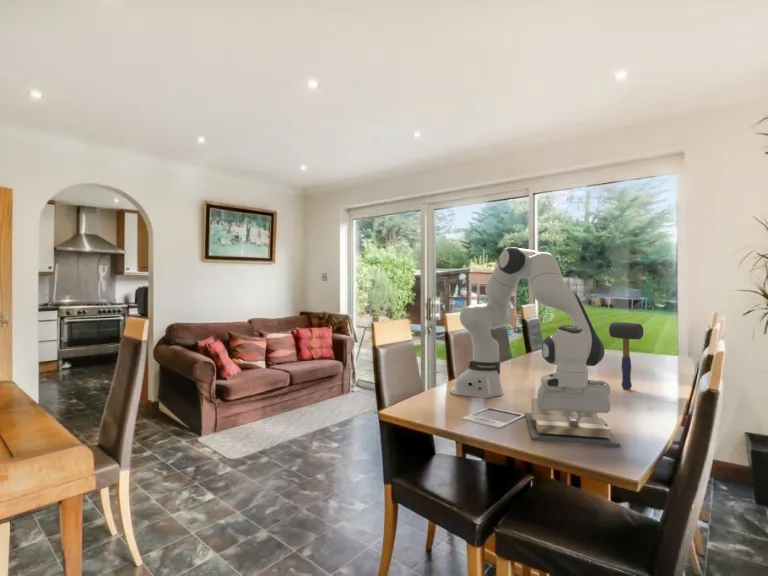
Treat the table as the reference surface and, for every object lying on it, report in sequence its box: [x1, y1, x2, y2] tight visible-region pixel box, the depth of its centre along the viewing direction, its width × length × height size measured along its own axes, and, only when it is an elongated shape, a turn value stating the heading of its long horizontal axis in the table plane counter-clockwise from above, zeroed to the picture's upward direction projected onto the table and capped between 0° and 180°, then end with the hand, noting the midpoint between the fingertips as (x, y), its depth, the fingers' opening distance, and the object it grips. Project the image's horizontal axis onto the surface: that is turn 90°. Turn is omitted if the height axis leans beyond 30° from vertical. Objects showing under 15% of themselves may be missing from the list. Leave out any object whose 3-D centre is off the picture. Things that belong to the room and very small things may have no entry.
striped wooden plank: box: [529, 412, 609, 428], centre depth 136 cm, size 22×7×2 cm, turn 76°
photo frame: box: [461, 407, 526, 429], centre depth 148 cm, size 15×1×18 cm
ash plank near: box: [536, 420, 612, 438], centre depth 129 cm, size 20×7×2 cm, turn 76°
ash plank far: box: [531, 398, 599, 418], centre depth 143 cm, size 20×7×2 cm, turn 76°
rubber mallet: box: [608, 321, 644, 390], centre depth 188 cm, size 12×8×30 cm, turn 37°
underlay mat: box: [524, 412, 621, 447], centre depth 136 cm, size 24×26×1 cm
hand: (573, 425), depth 127 cm, fingers closed, pressing on ash plank near
